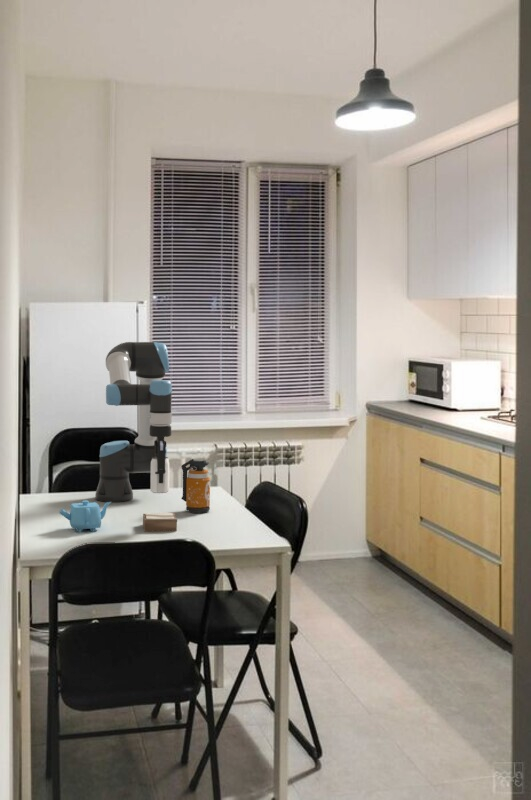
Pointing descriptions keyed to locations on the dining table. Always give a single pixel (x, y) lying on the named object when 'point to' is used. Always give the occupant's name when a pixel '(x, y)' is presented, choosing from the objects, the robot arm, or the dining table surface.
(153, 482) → the can
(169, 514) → the podium
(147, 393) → the robot arm
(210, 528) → the dining table surface
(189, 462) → the canister
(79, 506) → the teapot
